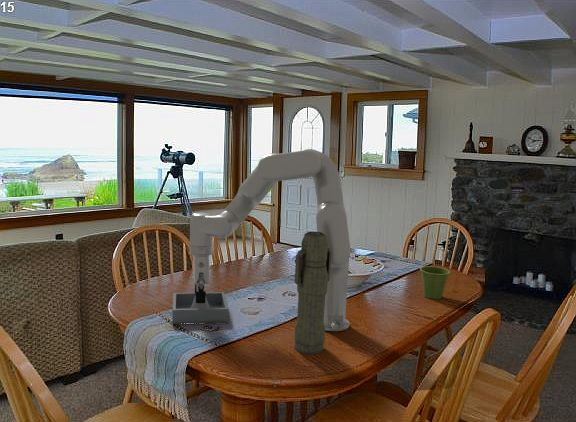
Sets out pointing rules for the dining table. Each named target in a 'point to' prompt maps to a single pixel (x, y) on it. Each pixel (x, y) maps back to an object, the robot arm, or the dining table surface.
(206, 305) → the flask
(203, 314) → the bin
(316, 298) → the grey stone statue
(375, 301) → the dining table surface
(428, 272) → the plant pot
